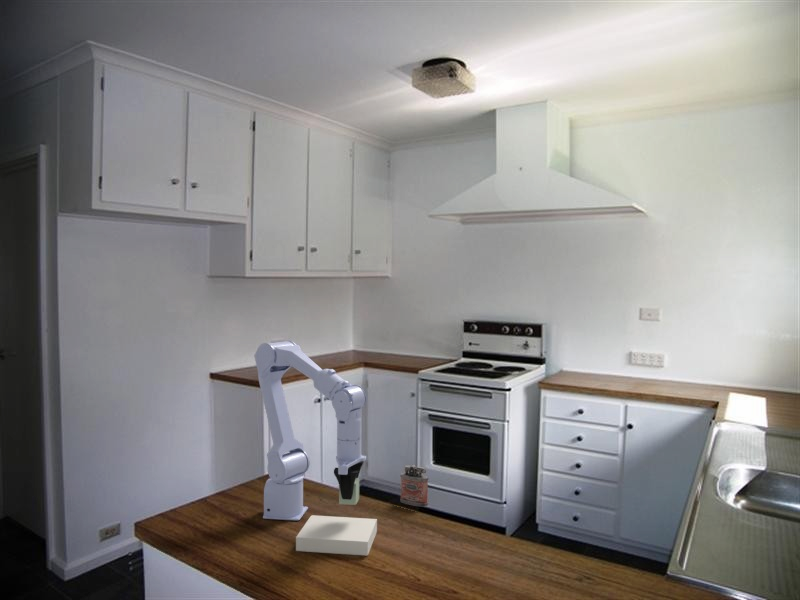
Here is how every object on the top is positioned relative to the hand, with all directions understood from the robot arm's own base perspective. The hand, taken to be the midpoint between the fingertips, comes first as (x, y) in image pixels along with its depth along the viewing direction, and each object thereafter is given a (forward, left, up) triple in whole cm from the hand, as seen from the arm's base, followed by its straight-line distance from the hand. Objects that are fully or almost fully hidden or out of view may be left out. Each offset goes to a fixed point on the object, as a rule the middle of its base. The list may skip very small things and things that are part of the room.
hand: (348, 495), depth 131 cm
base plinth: (-2, -4, -9) cm, 10 cm away
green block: (0, 0, -1) cm, 1 cm away
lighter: (+13, +21, -9) cm, 26 cm away
